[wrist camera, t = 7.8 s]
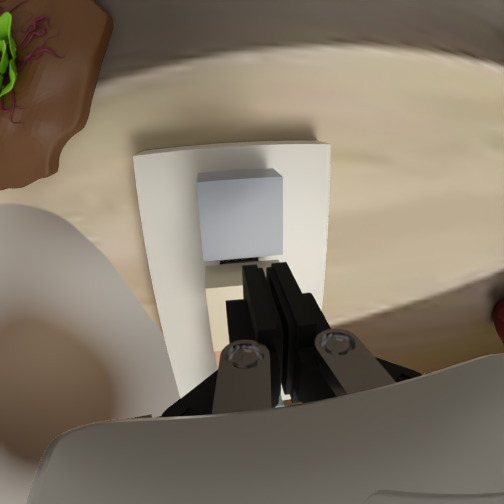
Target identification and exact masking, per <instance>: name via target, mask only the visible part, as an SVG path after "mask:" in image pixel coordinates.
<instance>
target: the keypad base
mask: <svg viewBox="0 0 504 504" xmlns="http://www.w3.org/2000/svg"><path fill="white" fill-rule="evenodd" d="M330 146H331V144H328V143H325V142H321V141H318V140H288V141H254V142H234V143H218V144H205V145H193V146H182V147H173V148H163V149H155V150H147V151H141V152H139V153H137V154H136V155H134V156H133V162H134V171H135V179H136V187H137V195H138V202H139V209H140V216H141V223H142V229H143V235H144V241H145V247H146V253H147V258H148V264H149V269H150V274H151V280H152V285H153V290H154V294H155V299H156V304H157V308H158V313H159V317H160V322H161V326H162V330H163V334H164V339H165V343H166V347H167V351H168V354H169V358H170V362H171V366H172V370H173V373H174V377H175V381H176V384H177V388H178V391H179V395H180V398H182V397H183V396H185V395H186V394H187V393H188V392H190V391H191V390H192V389H194V388H195V387H196V386H197V385H199V384H200V383H201V382H203V381H204V380H205V379H206V378H208V377H209V376H210V375H211V374H213V373H214V372H215V371H216V370H217V363H216V356H215V351H214V350H213V343H212V336H211V329H210V321H209V313H208V306H207V298H206V289H205V266H210V265H220V261H221V260H215V261H204V259H203V250H202V240H201V230H200V220H199V209H198V197H197V185H196V181H197V175H198V173H204V172H217V171H231V170H247V169H265V168H273V169H274V170H276V171H277V172H278V173H279V174H280V175H281V176H283V255H273V256H261V257H250V258H254V260H255V262H256V261H268V260H279V262H287V264H288V266H289V268H290V270H291V272H292V274H293V276H294V278H295V280H296V282H297V284H298V286H299V288H300V290H301V292H302V293H309V292H310V293H312V295H313V296H314V298H315V300H316V302H317V304H318V306H319V308H320V309H321V311H322V301H323V289H324V277H325V264H326V250H327V234H328V215H329V190H330ZM238 259H244V258H238ZM227 260H233V259H227ZM281 397H282V400H287V399H291V397H290V394H289V395H285V394H284V391H283V388H282V384H281Z"/></svg>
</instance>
